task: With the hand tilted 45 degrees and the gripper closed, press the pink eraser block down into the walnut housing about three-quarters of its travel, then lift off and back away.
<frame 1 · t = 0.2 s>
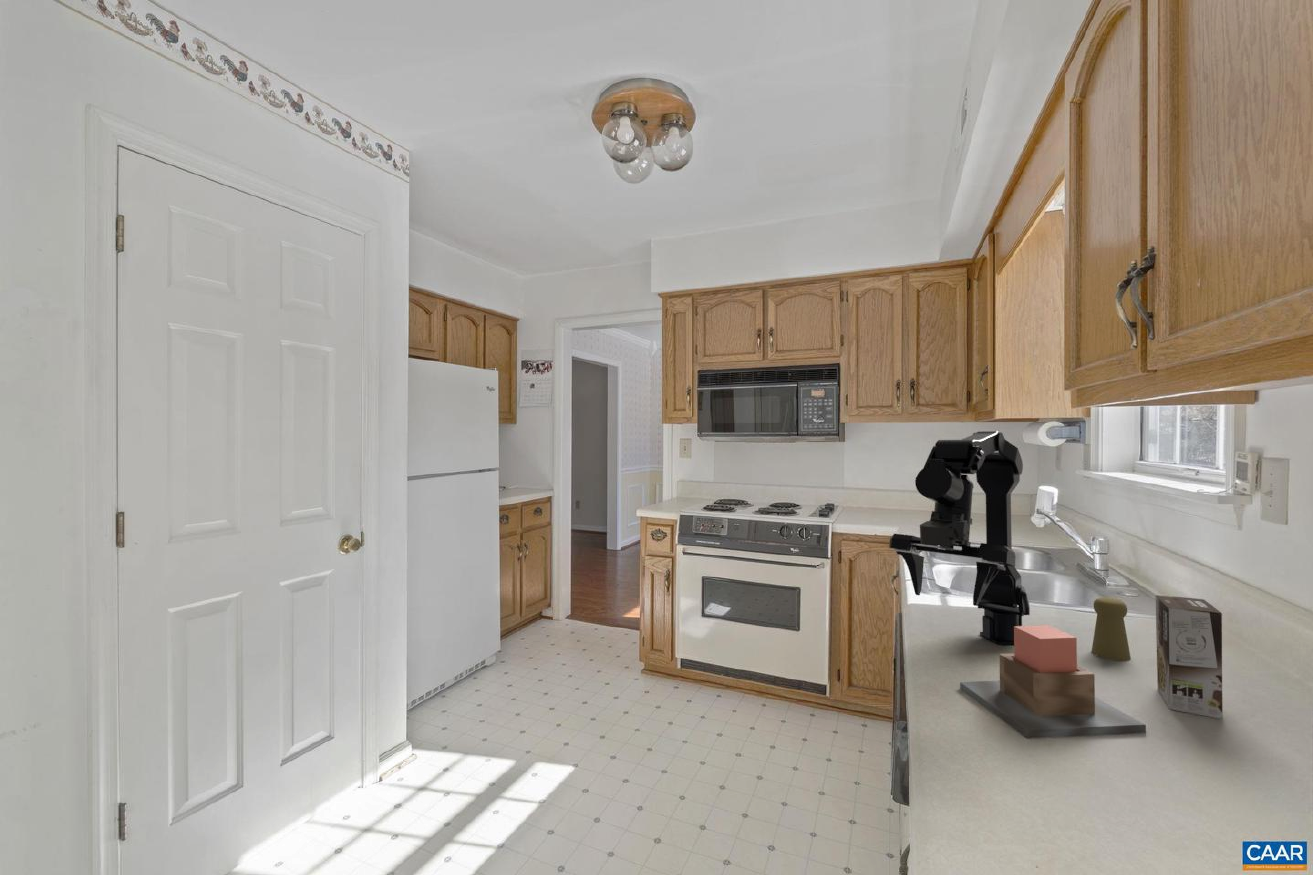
hand: (945, 600, 96), 15 cm above the worktop, tool tilted 15°, fingers open, 9 cm apart
cork: (1110, 655, 111), on the worktop
pink eraser block: (1044, 650, 90), point 9 cm above the worktop, slide at 0.0 cm
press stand: (1045, 709, 90), on the worktop
coffee box: (1188, 704, 91), on the worktop
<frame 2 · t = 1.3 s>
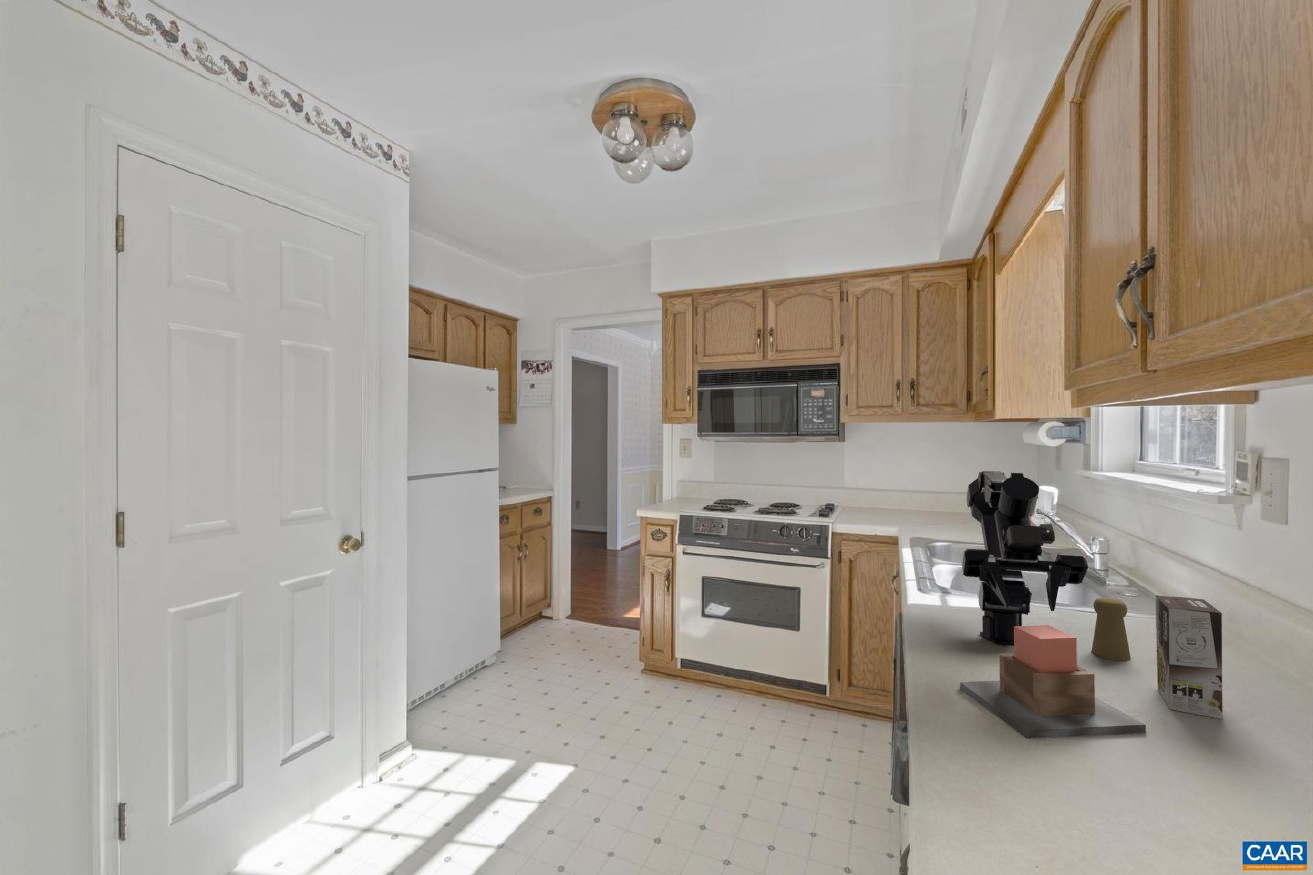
hand: (1029, 608, 98), 13 cm above the worktop, tool tilted 45°, fingers open, 6 cm apart
nothing on the worktop moved.
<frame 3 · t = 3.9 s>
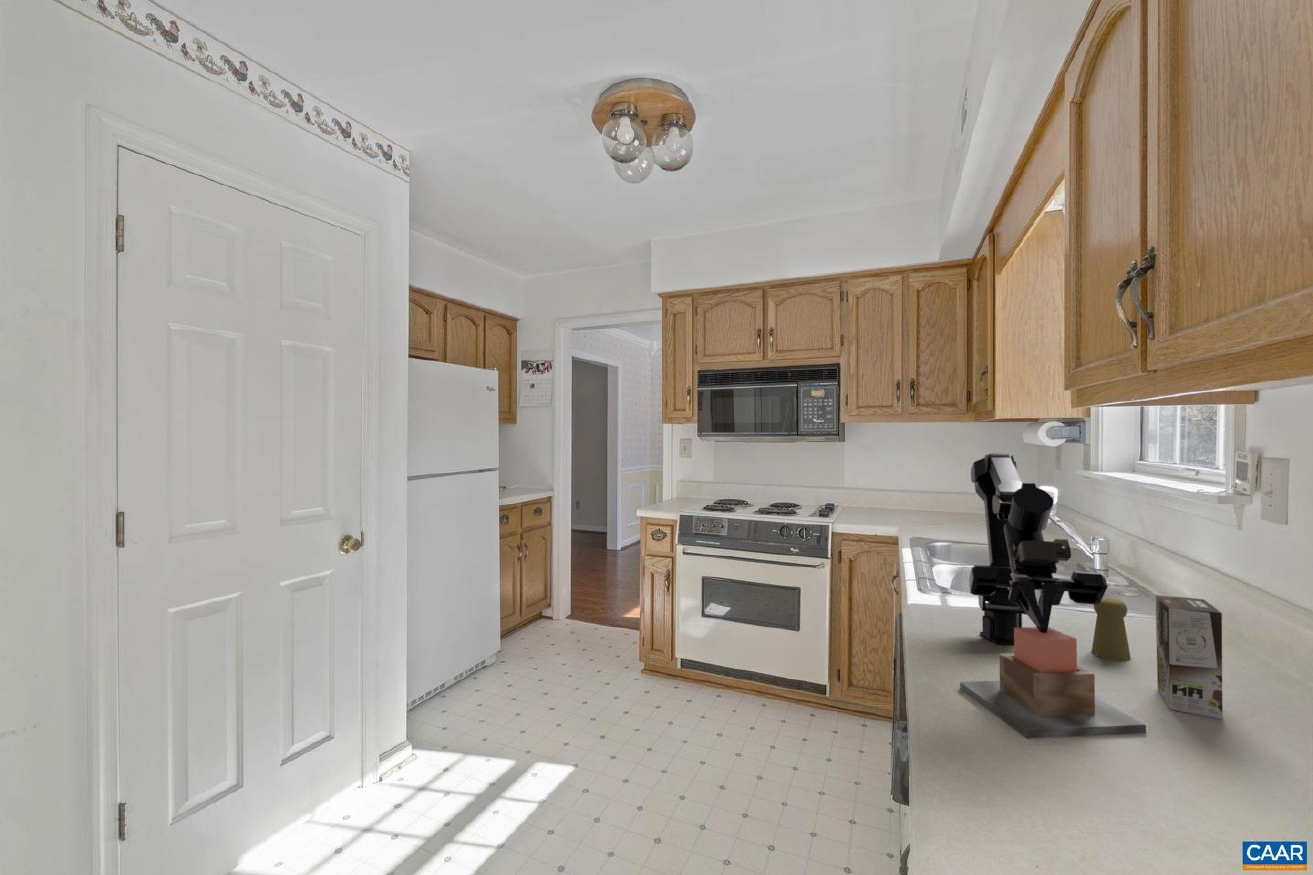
hand: (1044, 631, 90), 12 cm above the worktop, tool tilted 45°, fingers closed, pressing on pink eraser block
pink eraser block: (1044, 652, 90), point 9 cm above the worktop, slide at 0.2 cm, touching gripper
everything else where it was.
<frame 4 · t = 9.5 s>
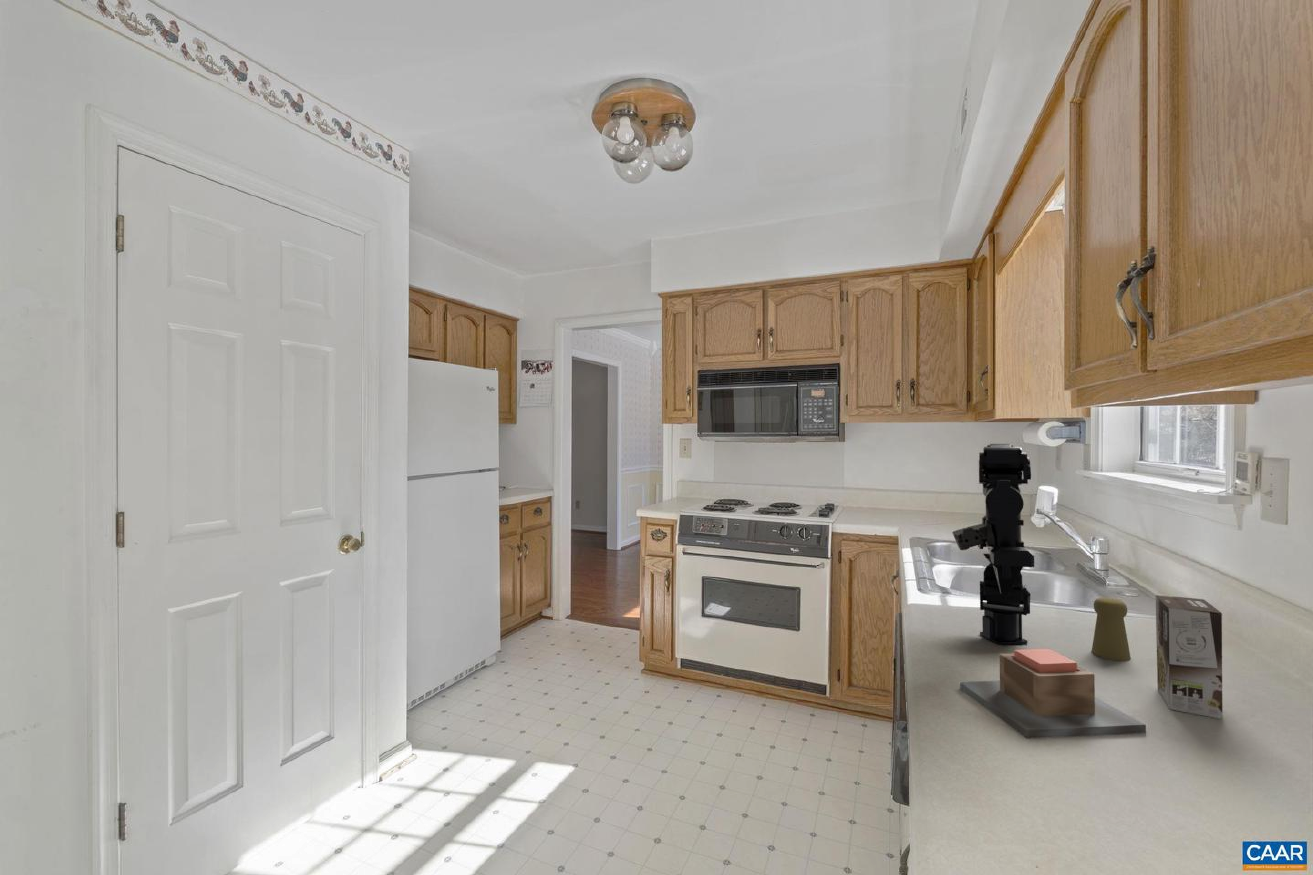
hand: (1004, 594, 108), 13 cm above the worktop, tool pointing down, fingers closed
pink eraser block: (1044, 675, 90), point 5 cm above the worktop, slide at 3.8 cm
everything else where it was.
at the end: pink eraser block slide at 3.8 cm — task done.
